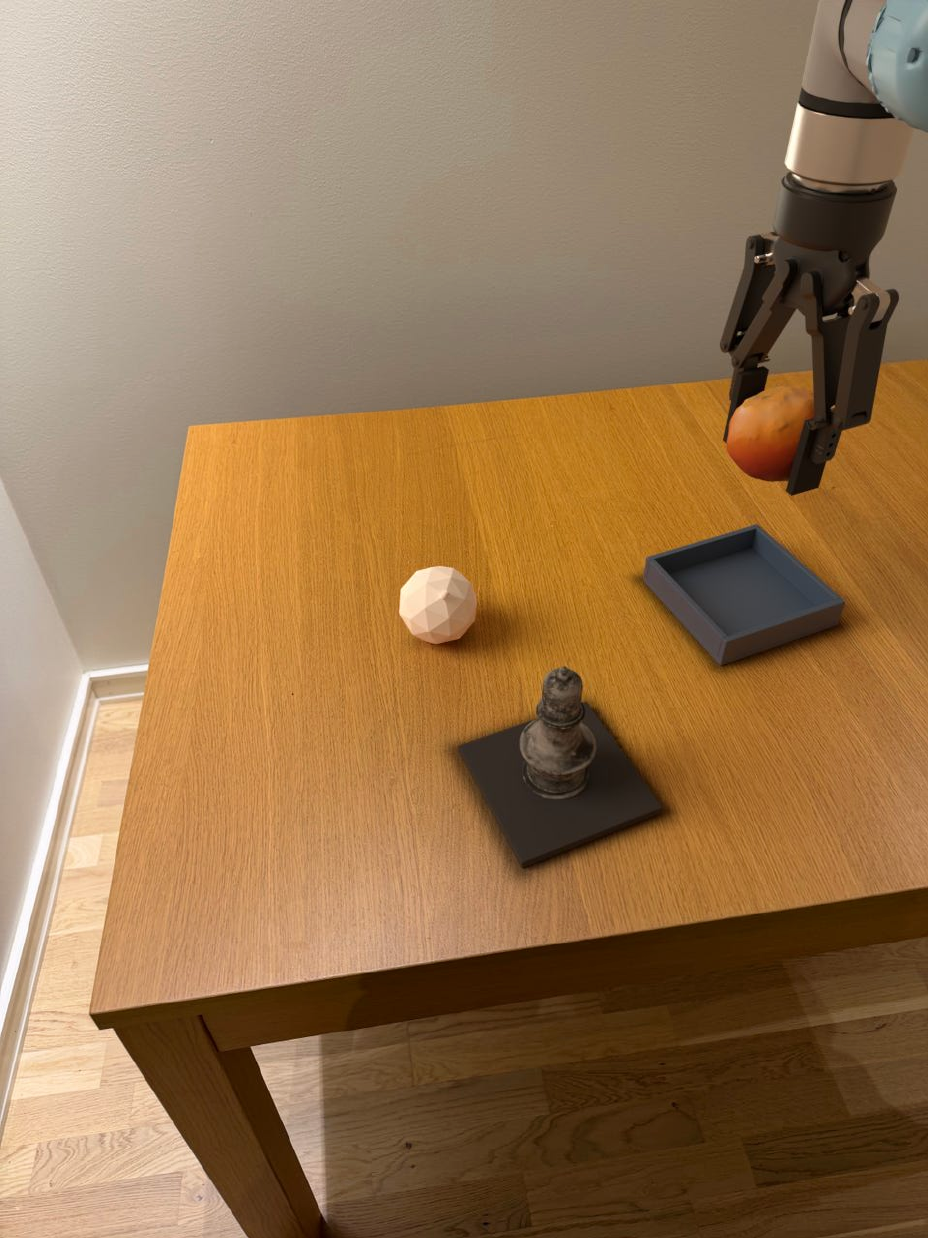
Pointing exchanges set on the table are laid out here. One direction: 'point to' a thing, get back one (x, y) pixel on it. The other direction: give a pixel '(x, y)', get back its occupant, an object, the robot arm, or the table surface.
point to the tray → (741, 593)
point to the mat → (557, 823)
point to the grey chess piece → (558, 739)
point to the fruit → (769, 431)
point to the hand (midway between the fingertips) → (768, 463)
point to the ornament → (438, 604)
